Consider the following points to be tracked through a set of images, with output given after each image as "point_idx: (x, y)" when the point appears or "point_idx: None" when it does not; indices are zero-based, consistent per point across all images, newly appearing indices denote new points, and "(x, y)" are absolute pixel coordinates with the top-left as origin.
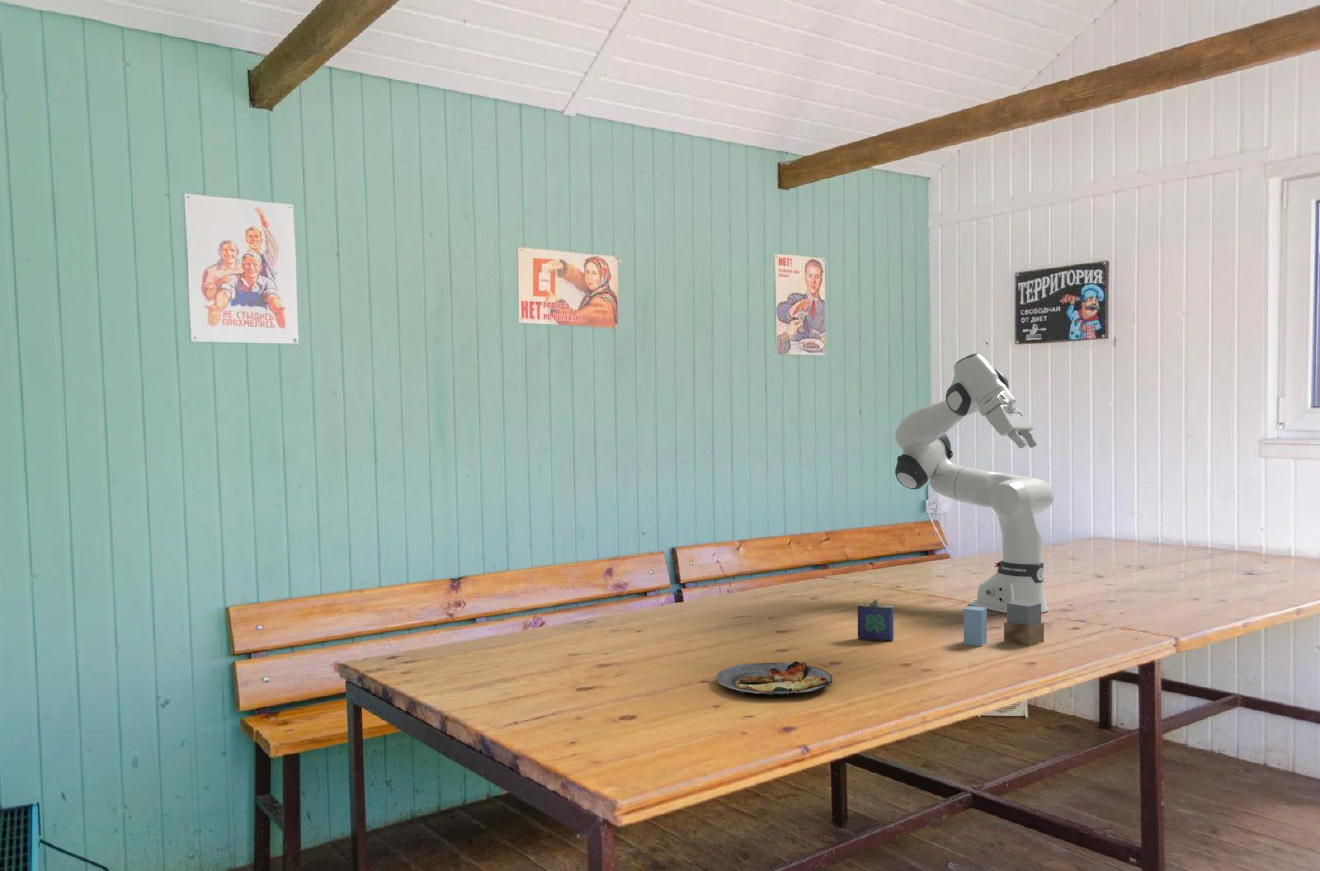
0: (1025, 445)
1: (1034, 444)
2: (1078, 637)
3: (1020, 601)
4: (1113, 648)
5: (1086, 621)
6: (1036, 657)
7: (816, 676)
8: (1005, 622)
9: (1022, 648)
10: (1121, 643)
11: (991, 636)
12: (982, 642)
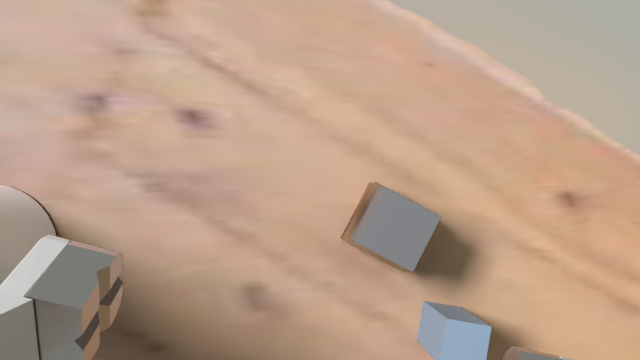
0: (539, 353)
1: (116, 265)
2: (294, 111)
3: (377, 240)
4: (378, 43)
5: (99, 91)
6: (518, 192)
7: None
8: (403, 268)
9: (449, 223)
10: (322, 24)
11: (357, 296)
12: (458, 308)
